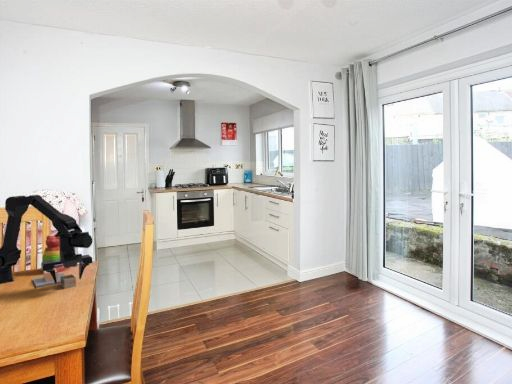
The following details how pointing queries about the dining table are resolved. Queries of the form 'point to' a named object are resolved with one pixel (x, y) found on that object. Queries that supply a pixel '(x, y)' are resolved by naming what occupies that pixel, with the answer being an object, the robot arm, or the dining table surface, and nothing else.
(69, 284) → the walnut brick
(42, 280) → the baseplate
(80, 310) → the dining table surface
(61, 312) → the dining table surface
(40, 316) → the dining table surface
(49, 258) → the stacking bear
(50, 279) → the terracotta brick
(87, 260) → the robot arm
